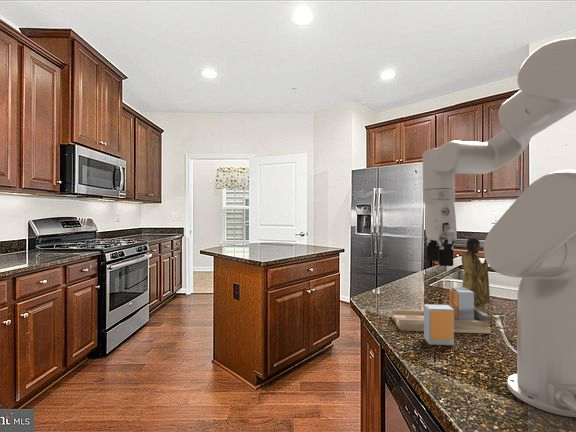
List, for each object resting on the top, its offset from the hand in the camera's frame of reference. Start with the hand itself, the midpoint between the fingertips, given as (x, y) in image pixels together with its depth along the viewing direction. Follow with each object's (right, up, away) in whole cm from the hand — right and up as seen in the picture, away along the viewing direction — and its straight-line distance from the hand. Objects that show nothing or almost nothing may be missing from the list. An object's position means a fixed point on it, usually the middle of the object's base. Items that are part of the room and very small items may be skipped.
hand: (439, 262), depth 83 cm
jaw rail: (+5, -20, +12) cm, 24 cm away
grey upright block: (0, -20, 0) cm, 20 cm away
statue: (+24, -20, +23) cm, 39 cm away
